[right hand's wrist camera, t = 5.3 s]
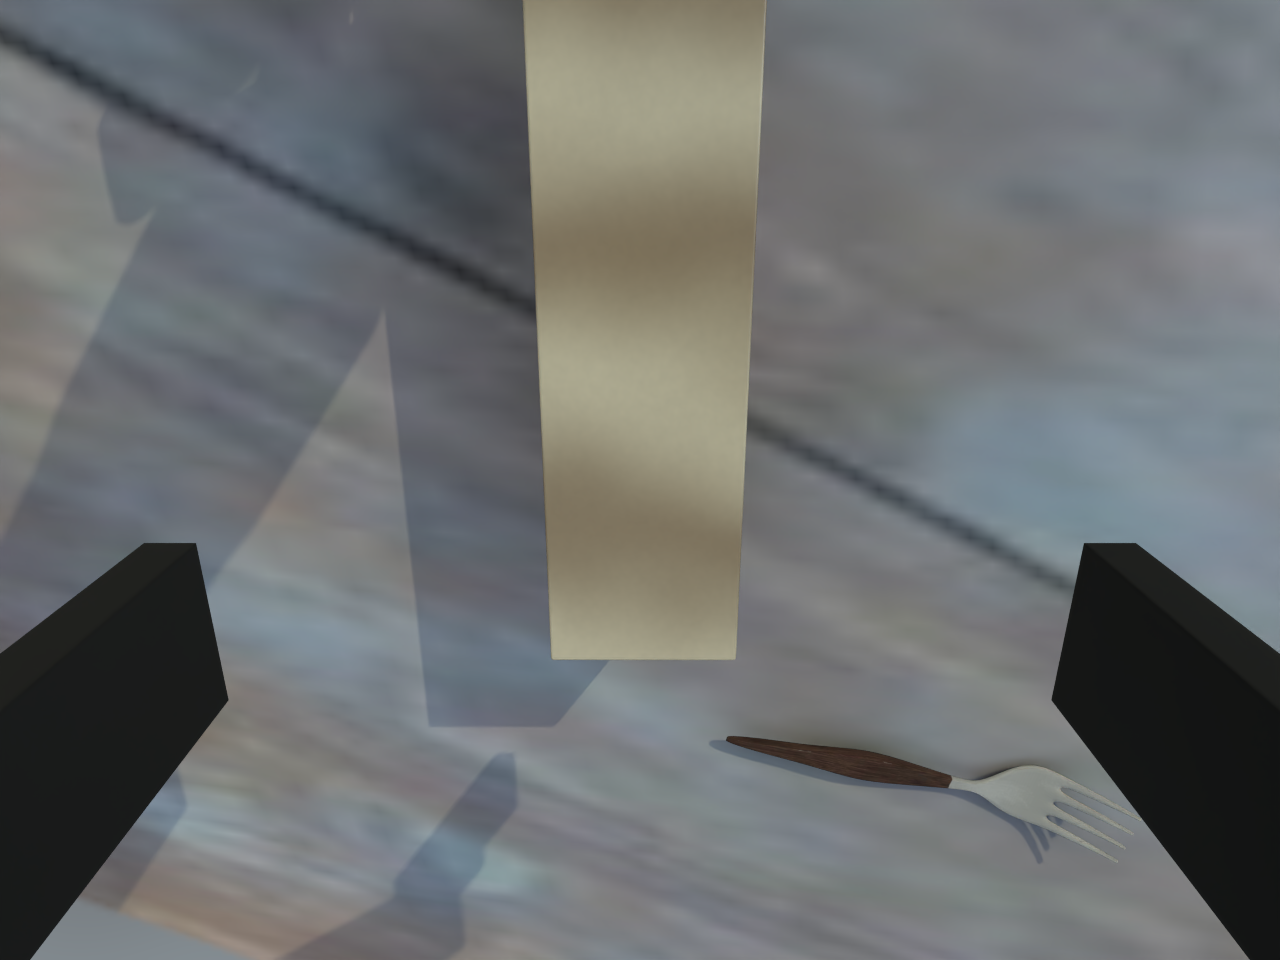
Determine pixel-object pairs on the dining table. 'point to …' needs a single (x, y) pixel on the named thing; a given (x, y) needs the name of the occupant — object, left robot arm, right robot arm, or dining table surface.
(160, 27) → the dining table surface
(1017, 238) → the dining table surface
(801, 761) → the fork
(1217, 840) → the right robot arm
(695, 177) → the plank
